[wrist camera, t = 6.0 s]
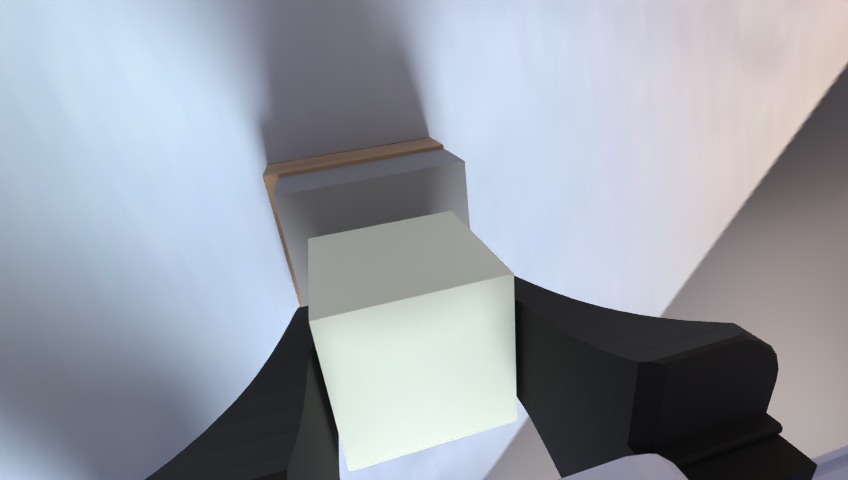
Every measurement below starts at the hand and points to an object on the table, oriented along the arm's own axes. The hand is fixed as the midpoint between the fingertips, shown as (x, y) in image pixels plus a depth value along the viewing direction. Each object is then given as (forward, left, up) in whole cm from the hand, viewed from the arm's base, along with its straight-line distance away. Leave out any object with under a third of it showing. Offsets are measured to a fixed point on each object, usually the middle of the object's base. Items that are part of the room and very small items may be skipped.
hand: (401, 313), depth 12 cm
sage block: (0, 0, -2) cm, 2 cm away
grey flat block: (0, 0, -6) cm, 6 cm away
